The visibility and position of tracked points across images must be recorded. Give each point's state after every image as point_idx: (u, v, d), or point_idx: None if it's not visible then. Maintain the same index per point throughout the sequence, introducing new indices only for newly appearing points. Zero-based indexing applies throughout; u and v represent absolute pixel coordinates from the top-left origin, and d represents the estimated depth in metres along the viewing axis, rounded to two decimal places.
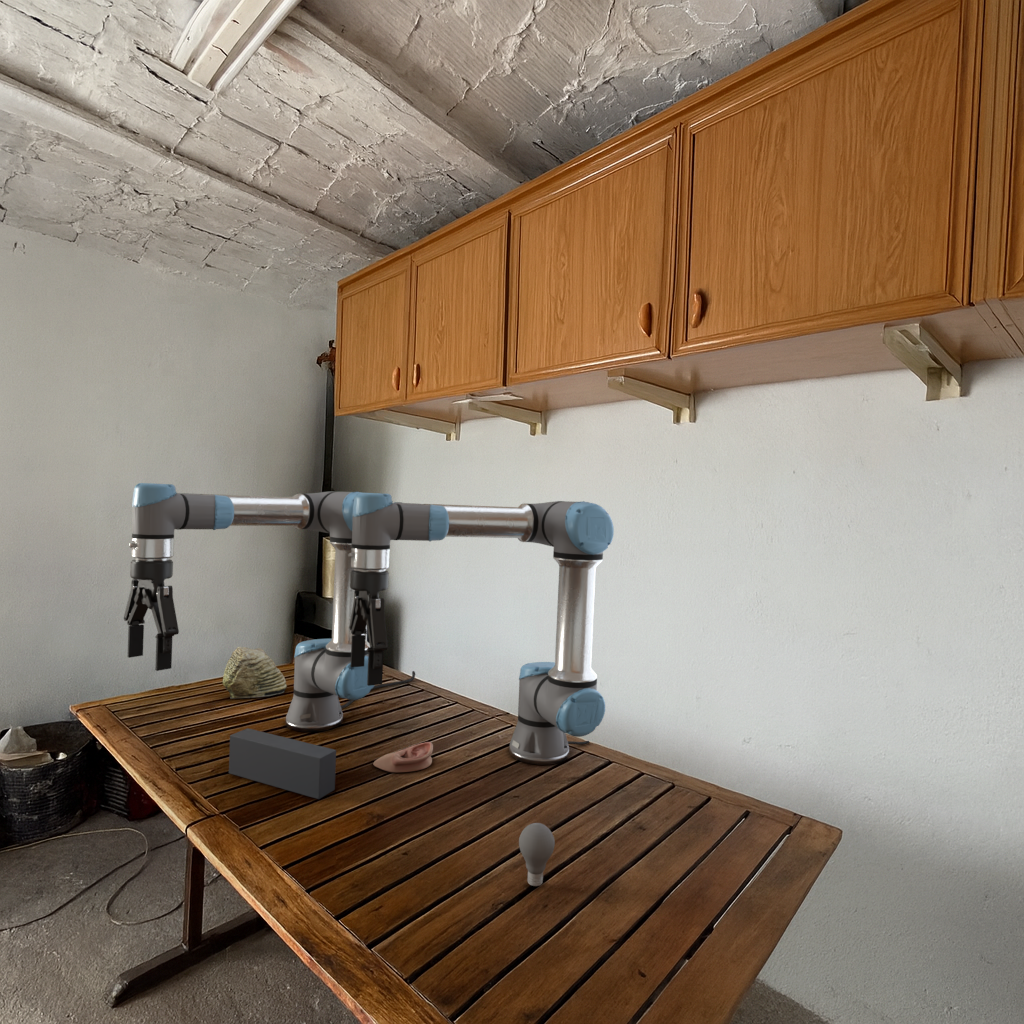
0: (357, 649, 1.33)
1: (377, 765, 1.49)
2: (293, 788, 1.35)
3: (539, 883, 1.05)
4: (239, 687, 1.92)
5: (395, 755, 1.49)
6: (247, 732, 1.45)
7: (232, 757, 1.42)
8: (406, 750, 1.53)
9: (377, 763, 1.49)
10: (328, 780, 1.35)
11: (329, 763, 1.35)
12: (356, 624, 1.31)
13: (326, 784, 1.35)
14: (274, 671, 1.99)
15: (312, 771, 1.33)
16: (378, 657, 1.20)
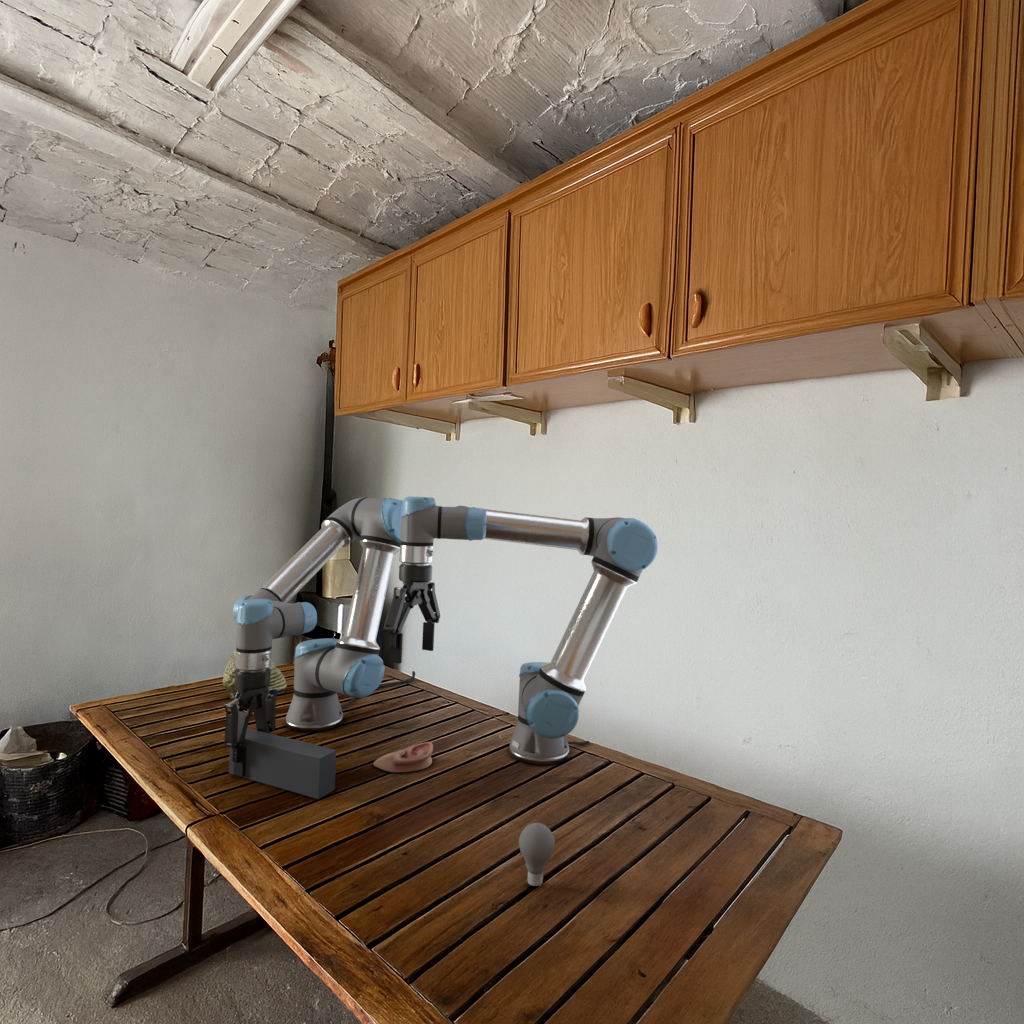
0: None
1: (377, 765, 1.49)
2: (293, 788, 1.35)
3: (539, 883, 1.05)
4: None
5: (395, 755, 1.49)
6: (247, 732, 1.45)
7: None
8: (406, 750, 1.53)
9: (377, 763, 1.49)
10: (328, 780, 1.35)
11: (329, 763, 1.35)
12: None
13: (326, 784, 1.35)
14: (274, 671, 1.99)
15: (312, 771, 1.33)
16: None
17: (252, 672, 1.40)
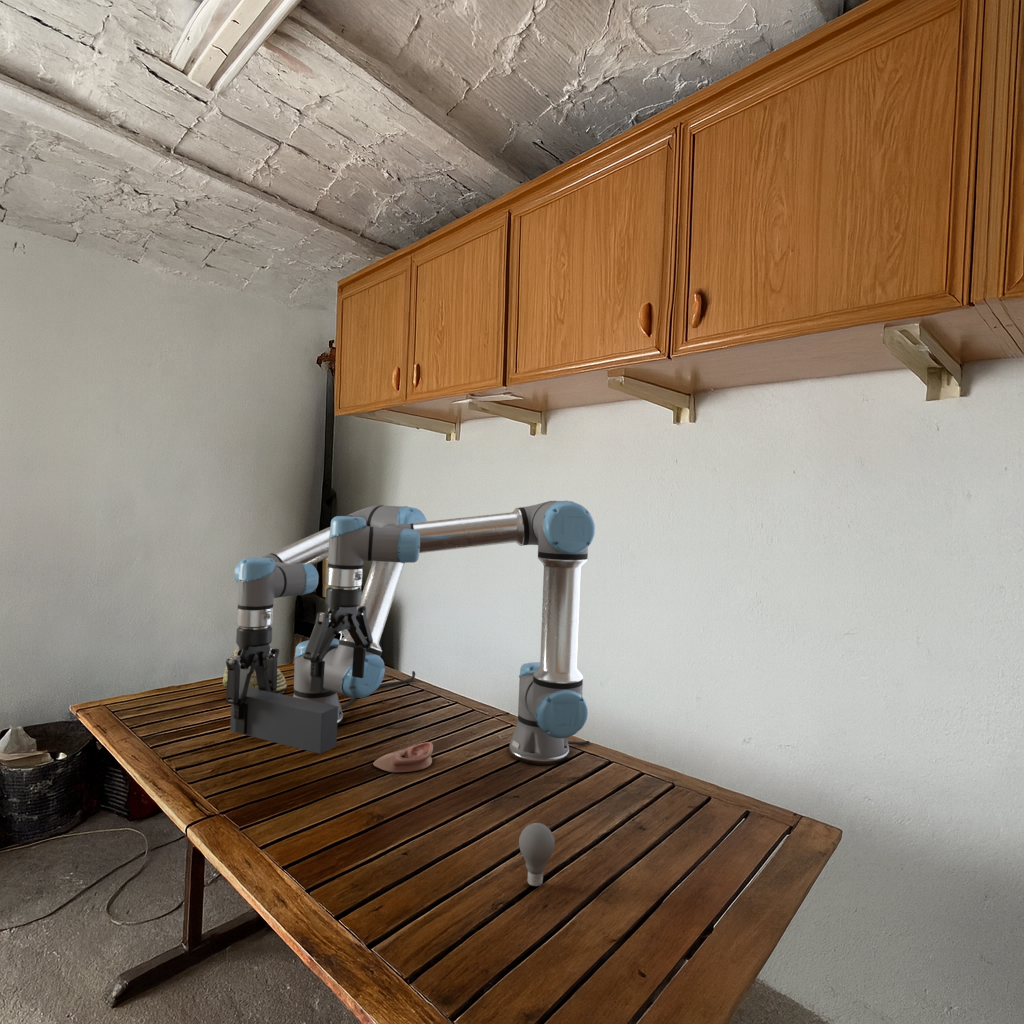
0: None
1: (377, 765, 1.49)
2: (295, 743, 1.35)
3: (539, 883, 1.05)
4: None
5: (395, 755, 1.49)
6: (249, 691, 1.44)
7: None
8: (406, 750, 1.53)
9: (377, 763, 1.49)
10: (330, 736, 1.35)
11: (331, 719, 1.35)
12: None
13: (328, 739, 1.34)
14: None
15: (314, 726, 1.33)
16: None
17: (254, 629, 1.40)
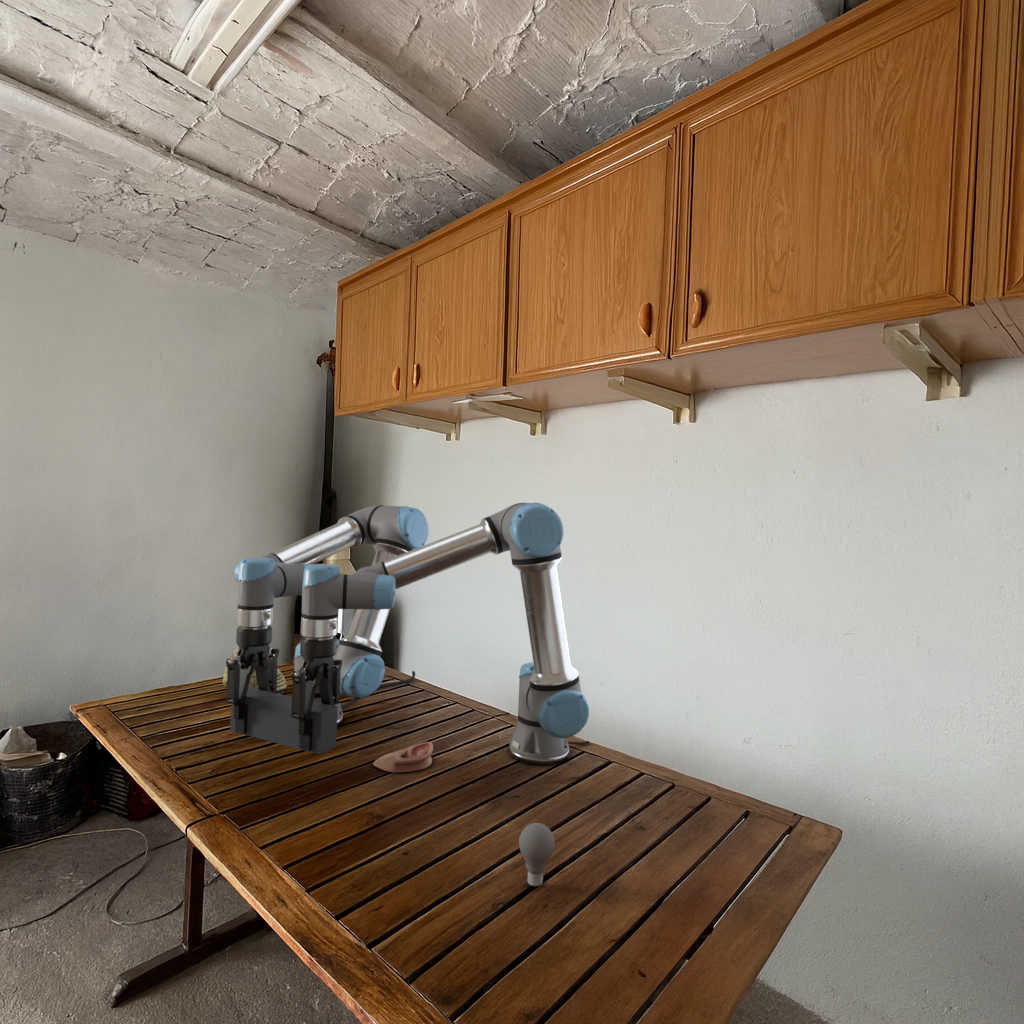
0: None
1: (377, 765, 1.49)
2: (294, 744, 1.35)
3: (539, 883, 1.05)
4: None
5: (395, 755, 1.49)
6: (249, 691, 1.44)
7: None
8: (406, 750, 1.53)
9: (377, 763, 1.49)
10: (329, 736, 1.35)
11: (330, 719, 1.35)
12: None
13: (327, 740, 1.34)
14: None
15: (313, 726, 1.33)
16: None
17: (254, 629, 1.40)
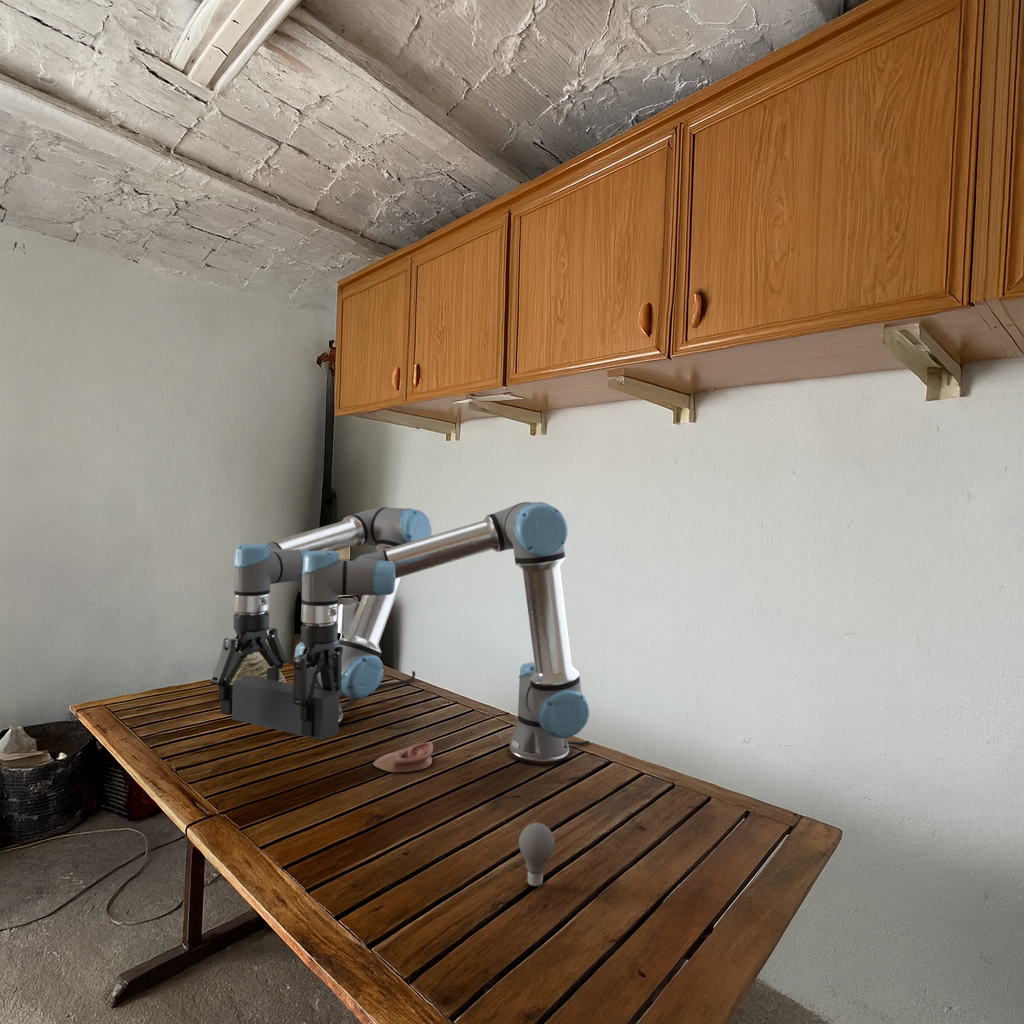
0: None
1: (377, 765, 1.49)
2: (296, 730, 1.35)
3: (539, 883, 1.05)
4: None
5: (395, 755, 1.49)
6: (250, 679, 1.44)
7: (235, 703, 1.42)
8: (406, 750, 1.53)
9: (377, 763, 1.49)
10: (331, 722, 1.35)
11: (332, 705, 1.35)
12: None
13: (329, 726, 1.34)
14: None
15: (315, 712, 1.33)
16: None
17: (251, 615, 1.41)
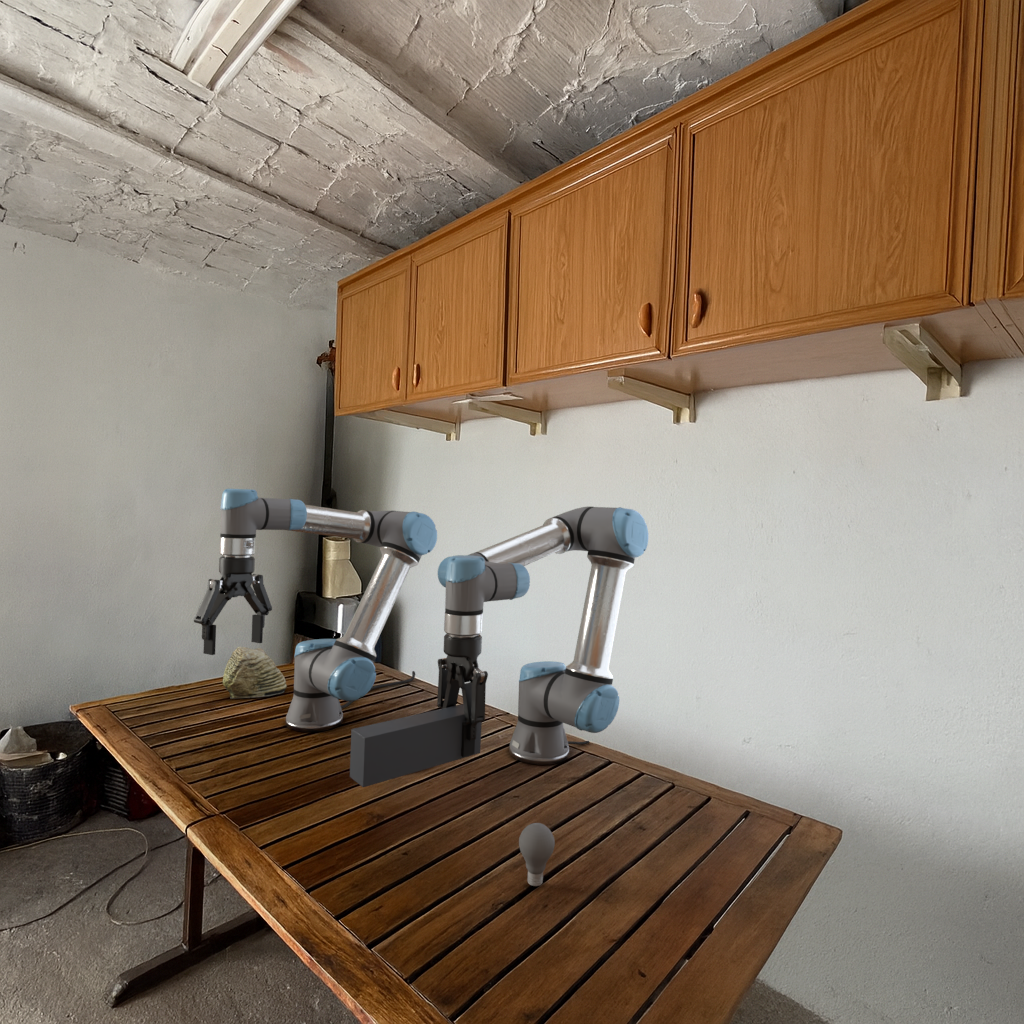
0: None
1: None
2: (452, 757, 1.22)
3: (539, 883, 1.05)
4: (239, 687, 1.92)
5: None
6: (368, 730, 1.13)
7: (369, 764, 1.10)
8: None
9: None
10: None
11: None
12: None
13: None
14: (274, 671, 1.99)
15: None
16: None
17: (236, 557, 1.42)
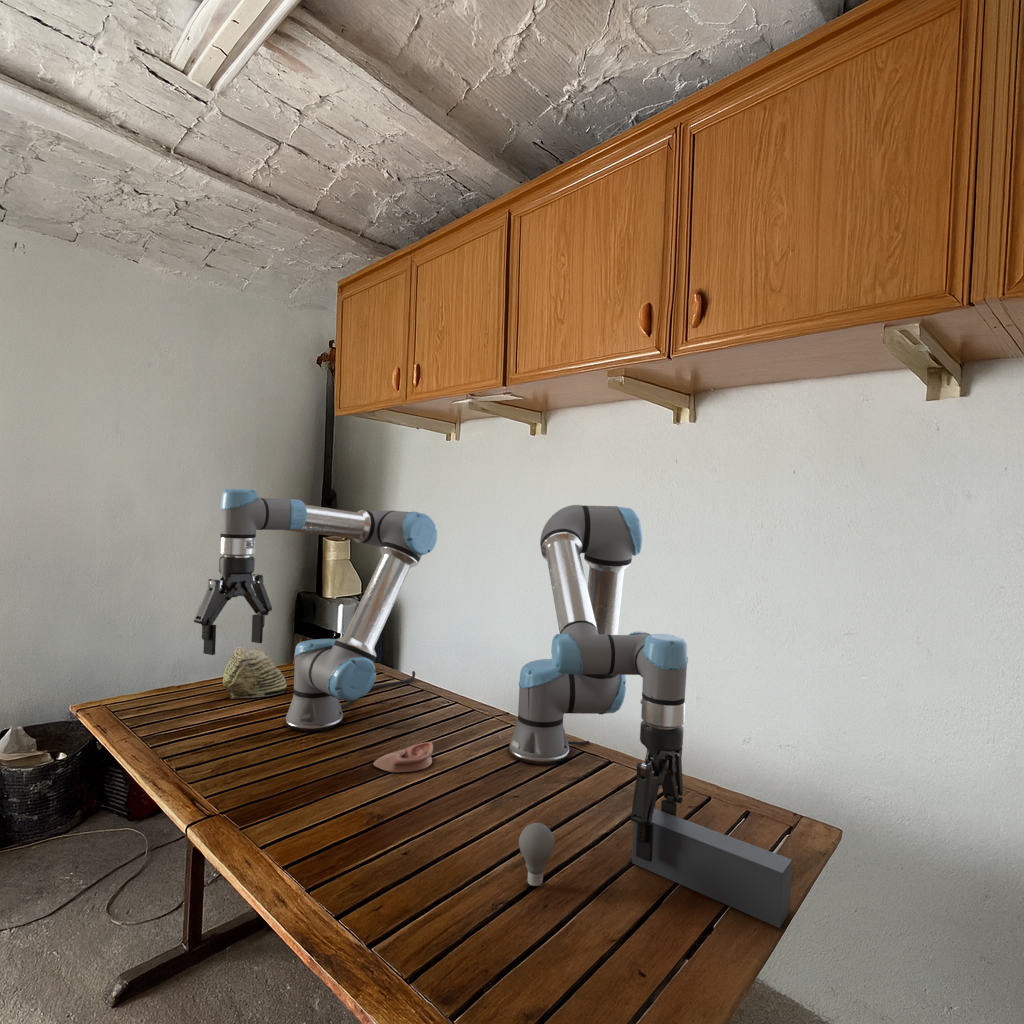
0: None
1: (377, 765, 1.49)
2: None
3: (539, 883, 1.05)
4: (239, 687, 1.92)
5: (395, 755, 1.49)
6: (772, 861, 1.01)
7: None
8: (406, 750, 1.53)
9: (377, 763, 1.49)
10: None
11: None
12: (662, 785, 1.17)
13: None
14: (274, 671, 1.99)
15: None
16: (642, 830, 1.09)
17: (236, 557, 1.42)
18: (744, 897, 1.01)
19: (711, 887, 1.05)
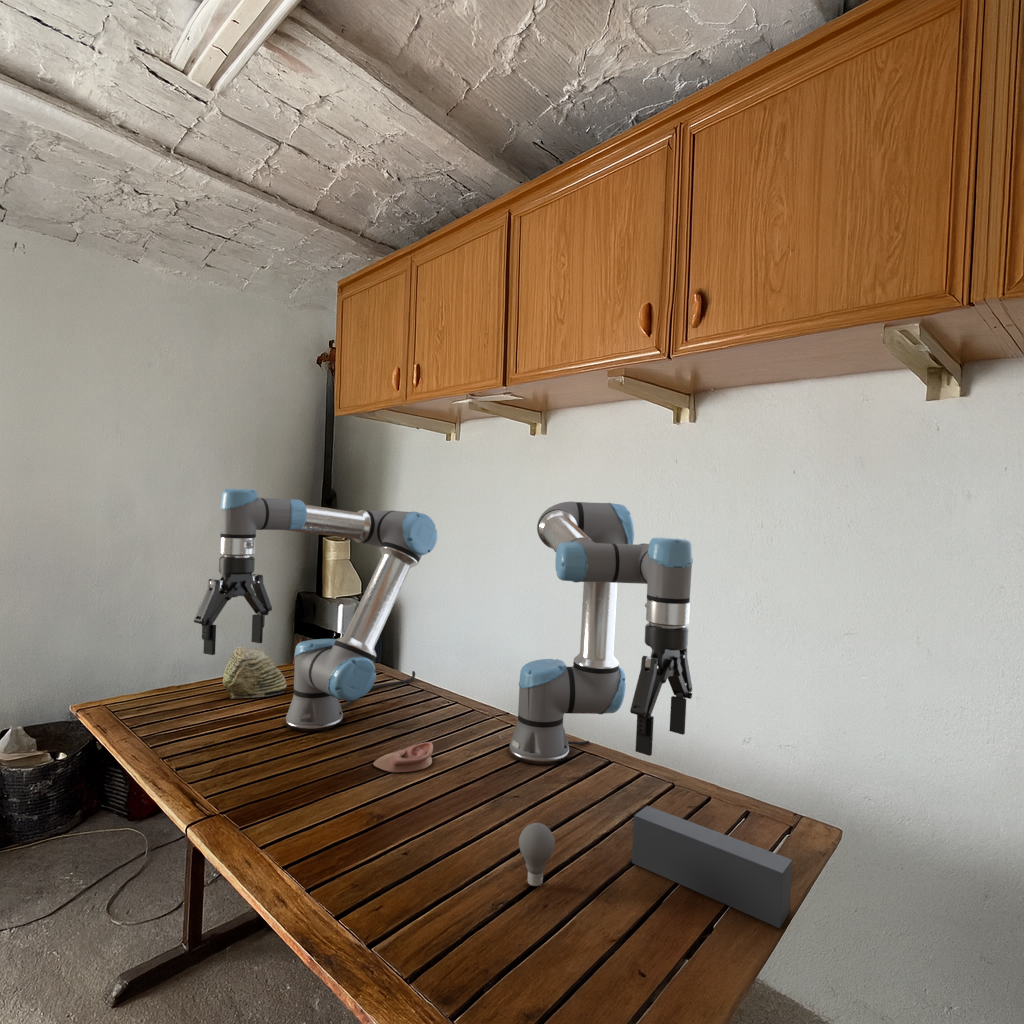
0: (676, 713, 1.19)
1: (377, 765, 1.49)
2: None
3: (539, 883, 1.05)
4: (239, 687, 1.92)
5: (395, 755, 1.49)
6: (772, 862, 1.01)
7: None
8: (406, 750, 1.53)
9: (377, 763, 1.49)
10: None
11: None
12: (671, 684, 1.18)
13: None
14: (274, 671, 1.99)
15: None
16: (641, 723, 1.07)
17: (236, 557, 1.42)
18: (744, 897, 1.01)
19: (711, 887, 1.05)
